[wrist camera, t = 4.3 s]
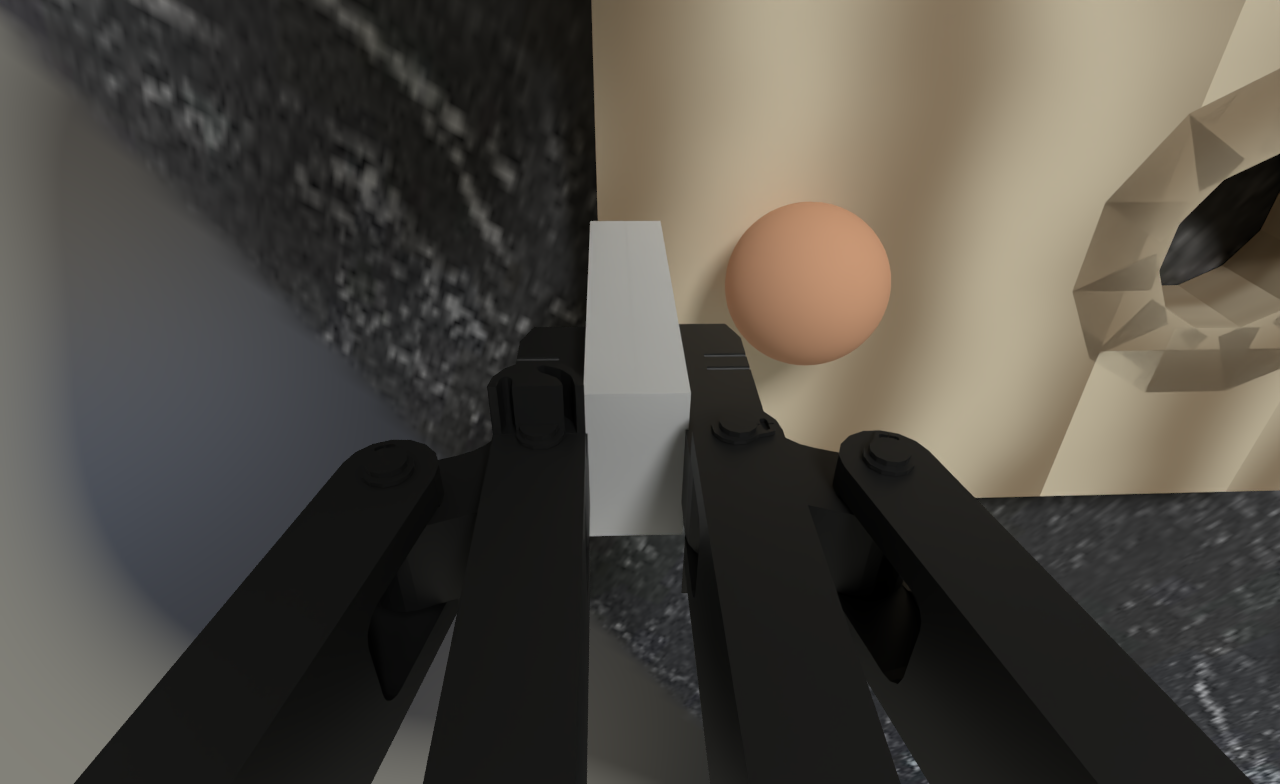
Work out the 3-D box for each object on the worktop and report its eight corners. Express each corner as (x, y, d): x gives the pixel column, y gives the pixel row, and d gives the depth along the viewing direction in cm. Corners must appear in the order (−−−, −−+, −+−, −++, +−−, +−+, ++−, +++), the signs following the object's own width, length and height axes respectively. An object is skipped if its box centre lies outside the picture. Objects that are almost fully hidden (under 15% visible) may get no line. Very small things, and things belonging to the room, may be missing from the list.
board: (605, 454, 24) (606, 507, 22) (588, -166, 15) (586, -177, 13) (1263, 439, 24) (1323, 489, 22) (1625, -158, 16) (1782, -166, 13)
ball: (720, 179, 16) (745, 240, 13) (875, 178, 16) (934, 238, 14) (711, 319, 18) (731, 398, 15) (849, 316, 18) (896, 395, 15)
